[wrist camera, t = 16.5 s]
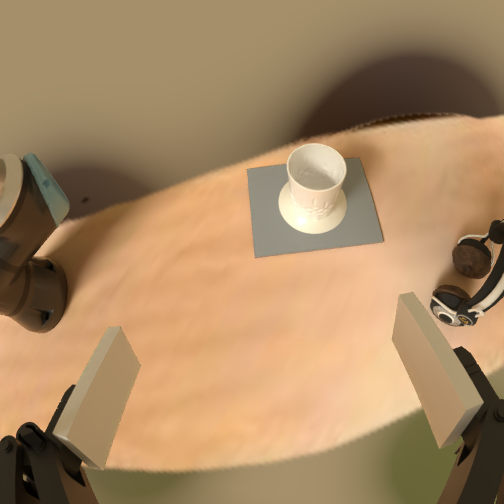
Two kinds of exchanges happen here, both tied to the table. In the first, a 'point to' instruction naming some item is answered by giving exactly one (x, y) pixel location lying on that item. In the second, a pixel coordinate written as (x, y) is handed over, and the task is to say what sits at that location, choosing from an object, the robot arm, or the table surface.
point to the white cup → (315, 179)
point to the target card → (306, 231)
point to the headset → (474, 266)
